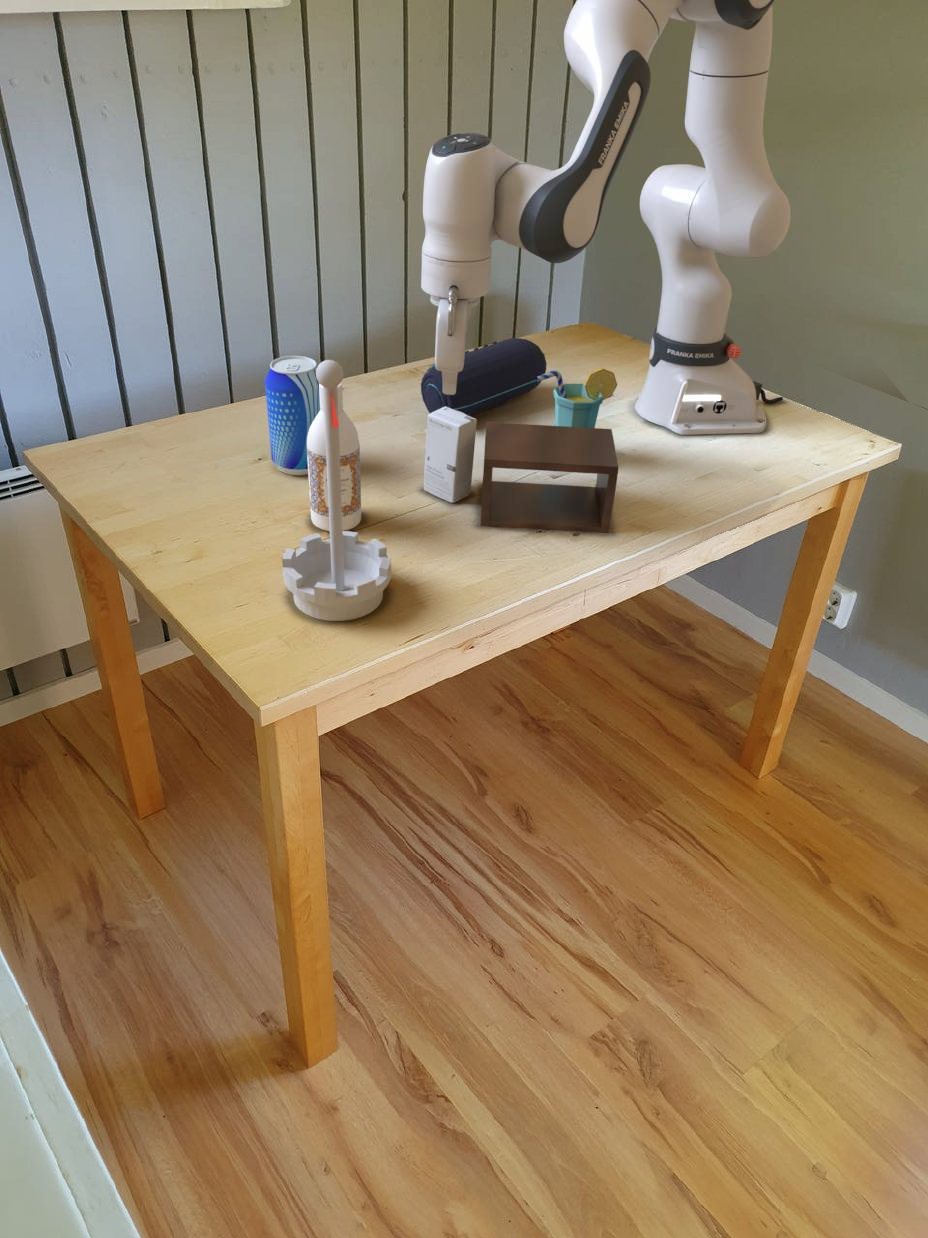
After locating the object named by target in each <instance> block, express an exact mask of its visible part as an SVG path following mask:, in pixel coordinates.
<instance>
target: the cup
mask: <svg viewBox="0 0 928 1238" xmlns="http://www.w3.org/2000/svg"><path fill="white" fill-rule="evenodd" d="M553 377H556V381H557V386H558V387H556V388H554V389H553V398H554V401H555V402H554V426H566V427H583V428H596V424H597V419H598V414H599V410H600V407H601V405H602V404H603V401H605V400H607V399H609V398H611V397H612V396H613V394H614V392H615V390H616V388H617V386H618V382H617V380H616V379H617V378H616V375H615V373H614V372H613V371H611V370H608V369H607V368H603V367H600V368H598V369H596V370H594V371H591V372H589V374H588V376H587V378H586V380H585V381H584V383H564V381H563V376H562V374H561V373H560V371H558V370H556V369H553V370H551V371H548V372H547V371H546V372H545V374H542V375H540V376H537V377H536V380H537V381H538V382H540V381H541V382H543V381H545V380H548V379H550V378H553Z"/></svg>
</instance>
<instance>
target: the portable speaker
mask: <svg viewBox="0 0 928 1238" xmlns="http://www.w3.org/2000/svg"><path fill="white" fill-rule="evenodd" d="M545 373H547V360H546V356H545V354H544V353H543V350H542V349H541V347H540V346H539V345H538V344H536V343H534V342H533V341H531V340H530V339H526V338H520V337H511V338H507V339H504V340H501V341H493V342H492V344H483V346H482V347H480V348H479V347H476V348H473V350H471V351H469V350H466V351H465V359H464V366H463V370H462V371H461V372H458V375H457V386H456V393H455V394H454V395H447V394H444V393H443V391H442V390H443V380H442V371H438V370H436V368H435V363H433V364H432V365H431V366H429V368H428V369H427V370H426V371H425V373H424V375H423V376H422V379H421V382H420V393H421V398H422V402H423V403H424V405H425V408H426V410H427V412H428V413H429V414H430V413H432V412H434V411H436V410H438V409H441V408H443V407H445V406H446V407H448V408H451V409H453V410H456V411H460V412H462V413H464V414H466V415H468V416H470V417H472V416H473V415H476V414H478V413H481V412H484V411H486V410H488V409H491V408H494V407H496V406H499V405H502V404H504V403H506V402H509V401H511V400H514V399H517V398H519V397H523V396H524V395H527V394H528V393H530V392H532V391H533V390H535V389H536V388H537V387H539V386H540V385H541V383H542V381H540V382H538V381H537V380H536V377H537V376H540V375H542V374H545Z"/></svg>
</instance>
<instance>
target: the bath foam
mask: <svg viewBox="0 0 928 1238" xmlns="http://www.w3.org/2000/svg"><path fill="white" fill-rule="evenodd" d="M319 394H320V411H319V413H318V414H317V416H316V417H315V419H314V421H313V422H312V424H311V426H310V428H309V431H308V436H307V461H308V475H307V476H308V477H307V478H308V492H309V494H308V495H309V508H310V519H311V520H310V521H311V522H312V524H313V525H314V526H315V527H317V528H318V529H320V530H322V531H326V532H330V527H329V506H328V484H327V462H326V440H325V418H324V396H323V386H322V385H321V384H319ZM337 394H338V421H339V448H340V475H341V503H342V530H343V531H350V530H352V529H354V528H356V527H357V526H358V525H359V524H360V522H361V521H362V491H361V490H362V489H361V488H362V487H361V486H362V485H361V484H362V483H361V451H360V450H361V449H360V448H361V447H360V438H359V433H358V431H357V429H356V426H355V424H354V422H353V421H352V420H351V418H350V417H349V416H348V414H347V413H346V411H345V410H344V397H343V395H344V393H343V384H342V382H341V383H340V384H339V385H338V386H337Z"/></svg>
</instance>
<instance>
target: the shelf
mask: <svg viewBox="0 0 928 1238" xmlns="http://www.w3.org/2000/svg"><path fill="white" fill-rule="evenodd" d="M485 424H486V425H485V437H484V438H485V439H484V452H483V454H484V456H483V472H482V488H481V506H480V523H479V525H480V526H484V527H485V526H487V527H501V528H517V529H518V528H519V529H535V530H536V529H539V530H553V531H554V530H555V531H570V532H587V533H588V532H589V533H605V534H609V533H610V530H611V529H610V528H611V521H612V515H613V510H614V502H615V495H616V489H617V483H618V477H619V475H618V474H619V470H620V469H619V468H620V467H619V461H618V456H617V455H618V454H617V450H616V445H615V440H614V434H613V429H612V428H600V427H598V428H597V427H595V428H583V427H566V426H555V425H549V424H548V425H547V424H532V423H531V424H530V423H529V424H528V423H512V422H511V423H510V422H495V421H486V423H485ZM494 469H510V470H527V471H541V472H542V471H545V472H562V473H578V474H580V473H581V474H595V475H596V479H595V480H596V481H595V486H589V485H588V486H585V485H569V484H551V483H550V484H549V483H537V482H536V483H532V482H519V481H518V482H517V481H516V482H515V481H499V480H493V470H494Z"/></svg>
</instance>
